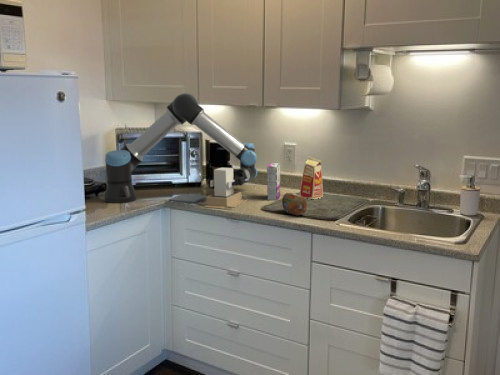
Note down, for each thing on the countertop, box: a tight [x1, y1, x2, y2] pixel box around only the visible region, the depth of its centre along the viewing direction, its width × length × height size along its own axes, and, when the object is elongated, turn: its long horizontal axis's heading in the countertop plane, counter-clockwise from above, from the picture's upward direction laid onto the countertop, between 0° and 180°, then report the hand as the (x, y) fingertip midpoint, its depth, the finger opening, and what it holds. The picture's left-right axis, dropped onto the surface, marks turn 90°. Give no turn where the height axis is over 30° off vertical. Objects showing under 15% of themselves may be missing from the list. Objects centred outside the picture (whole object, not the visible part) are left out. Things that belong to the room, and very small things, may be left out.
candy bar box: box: [266, 162, 281, 201], centre depth 249 cm, size 11×5×16 cm, turn 168°
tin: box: [281, 192, 307, 216], centre depth 218 cm, size 15×3×8 cm, turn 29°
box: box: [213, 167, 235, 198], centre depth 239 cm, size 6×8×16 cm
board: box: [168, 193, 208, 205], centre depth 248 cm, size 14×14×1 cm
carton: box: [200, 190, 248, 210], centre depth 240 cm, size 17×23×4 cm
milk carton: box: [298, 156, 324, 200], centre depth 249 cm, size 9×9×20 cm
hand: (219, 184), depth 235 cm, fingers open, 8 cm apart
